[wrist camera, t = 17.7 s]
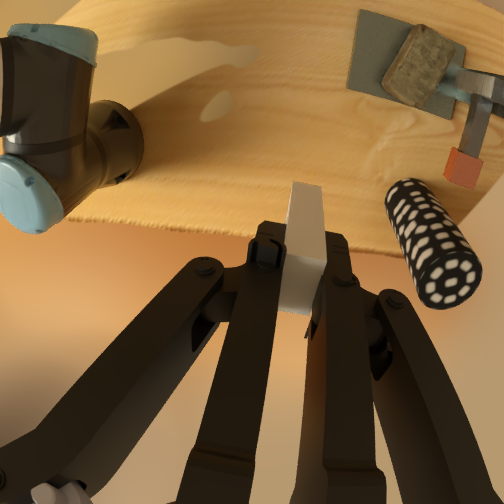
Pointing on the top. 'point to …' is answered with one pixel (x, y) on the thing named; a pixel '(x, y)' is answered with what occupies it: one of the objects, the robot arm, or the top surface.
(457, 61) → the press
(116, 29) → the top surface
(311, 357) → the robot arm
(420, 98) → the stone block
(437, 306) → the white-spotted black cylinder
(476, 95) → the hammer
